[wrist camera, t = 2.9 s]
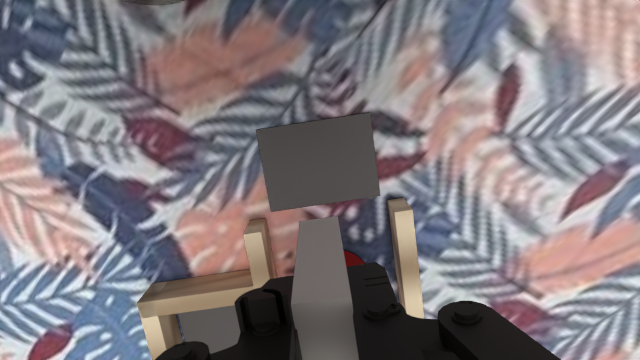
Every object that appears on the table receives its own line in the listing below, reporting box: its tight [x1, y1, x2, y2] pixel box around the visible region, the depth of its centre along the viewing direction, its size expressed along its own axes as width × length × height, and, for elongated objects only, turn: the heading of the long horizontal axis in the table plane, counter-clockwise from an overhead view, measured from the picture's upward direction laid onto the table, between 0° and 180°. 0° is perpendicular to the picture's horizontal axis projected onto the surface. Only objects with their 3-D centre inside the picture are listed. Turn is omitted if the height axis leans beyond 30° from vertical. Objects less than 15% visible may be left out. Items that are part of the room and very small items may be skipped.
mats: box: [178, 112, 380, 354], centre depth 33 cm, size 18×16×1 cm
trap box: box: [137, 198, 424, 360], centre depth 32 cm, size 21×20×4 cm
